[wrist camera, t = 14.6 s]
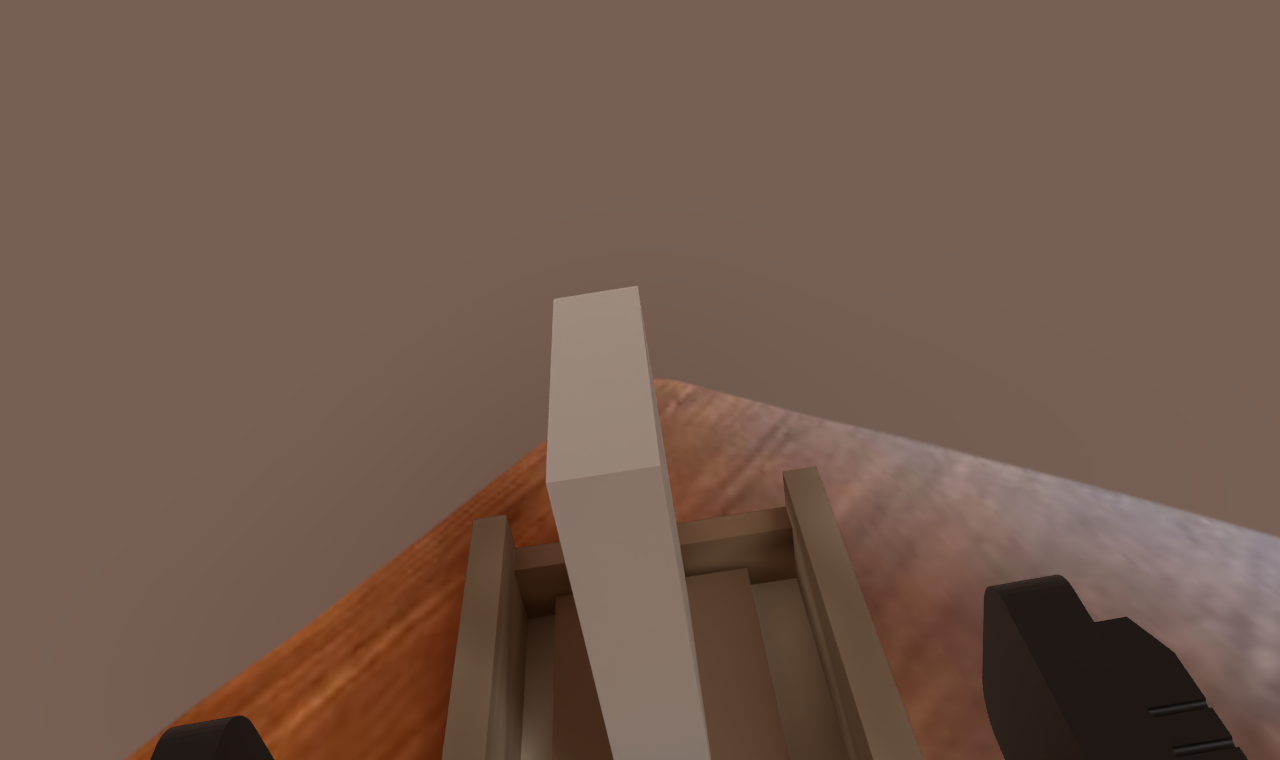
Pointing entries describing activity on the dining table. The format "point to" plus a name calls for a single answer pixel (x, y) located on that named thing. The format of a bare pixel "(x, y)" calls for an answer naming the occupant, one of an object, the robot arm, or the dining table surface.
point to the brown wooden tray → (760, 541)
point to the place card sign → (638, 570)
